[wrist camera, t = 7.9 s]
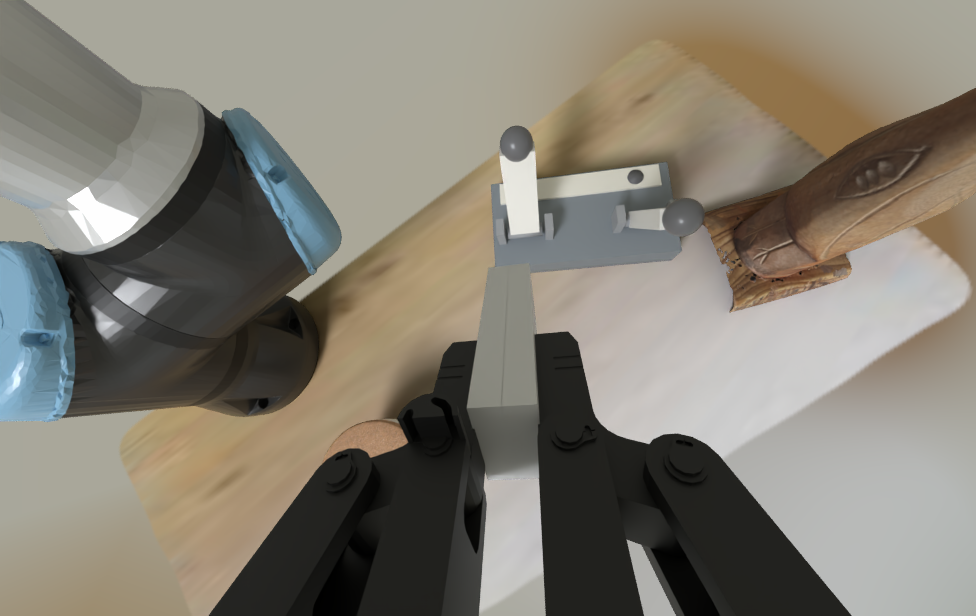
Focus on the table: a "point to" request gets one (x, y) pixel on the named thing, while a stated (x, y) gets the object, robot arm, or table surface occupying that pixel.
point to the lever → (669, 217)
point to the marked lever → (520, 182)
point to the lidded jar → (370, 438)
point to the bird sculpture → (848, 204)
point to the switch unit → (589, 221)
